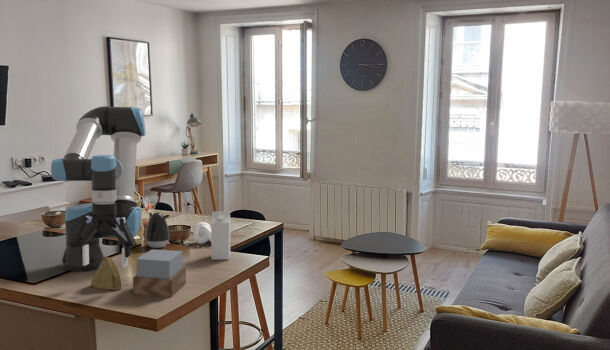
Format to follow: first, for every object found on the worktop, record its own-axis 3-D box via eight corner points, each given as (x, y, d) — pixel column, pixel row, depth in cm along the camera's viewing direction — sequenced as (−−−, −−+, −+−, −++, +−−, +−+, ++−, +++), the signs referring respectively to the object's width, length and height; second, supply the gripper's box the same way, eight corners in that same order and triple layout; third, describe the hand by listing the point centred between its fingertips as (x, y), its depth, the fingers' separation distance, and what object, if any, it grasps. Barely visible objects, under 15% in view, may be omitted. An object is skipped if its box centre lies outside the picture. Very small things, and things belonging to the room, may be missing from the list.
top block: (136, 277, 170) (136, 259, 170) (152, 266, 182) (151, 249, 182) (169, 279, 169) (169, 261, 168) (182, 268, 181) (182, 251, 180)
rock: (130, 282, 175) (122, 270, 183) (115, 265, 171) (107, 254, 179) (103, 304, 172) (96, 291, 180) (86, 288, 168) (80, 275, 176)
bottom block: (133, 295, 171) (133, 277, 170) (149, 282, 184) (149, 265, 183) (172, 298, 169) (171, 279, 168) (185, 284, 182) (185, 268, 181)
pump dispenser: (166, 250, 224) (166, 215, 222) (142, 249, 224) (141, 214, 222) (172, 244, 234) (172, 210, 232) (149, 243, 234) (149, 209, 232)
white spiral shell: (189, 245, 232) (189, 225, 231) (196, 239, 244) (196, 220, 243) (214, 246, 232) (215, 226, 231) (220, 239, 244) (220, 220, 243)
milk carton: (212, 255, 218) (212, 210, 216) (230, 255, 219) (230, 210, 216) (211, 259, 211) (211, 213, 209) (229, 259, 212) (229, 213, 209)
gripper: (61, 202, 170) (63, 266, 172) (136, 205, 168) (136, 270, 170) (74, 199, 178) (75, 260, 180) (145, 202, 175) (146, 264, 177)
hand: (105, 265), depth 175 cm, fingers open, 13 cm apart
